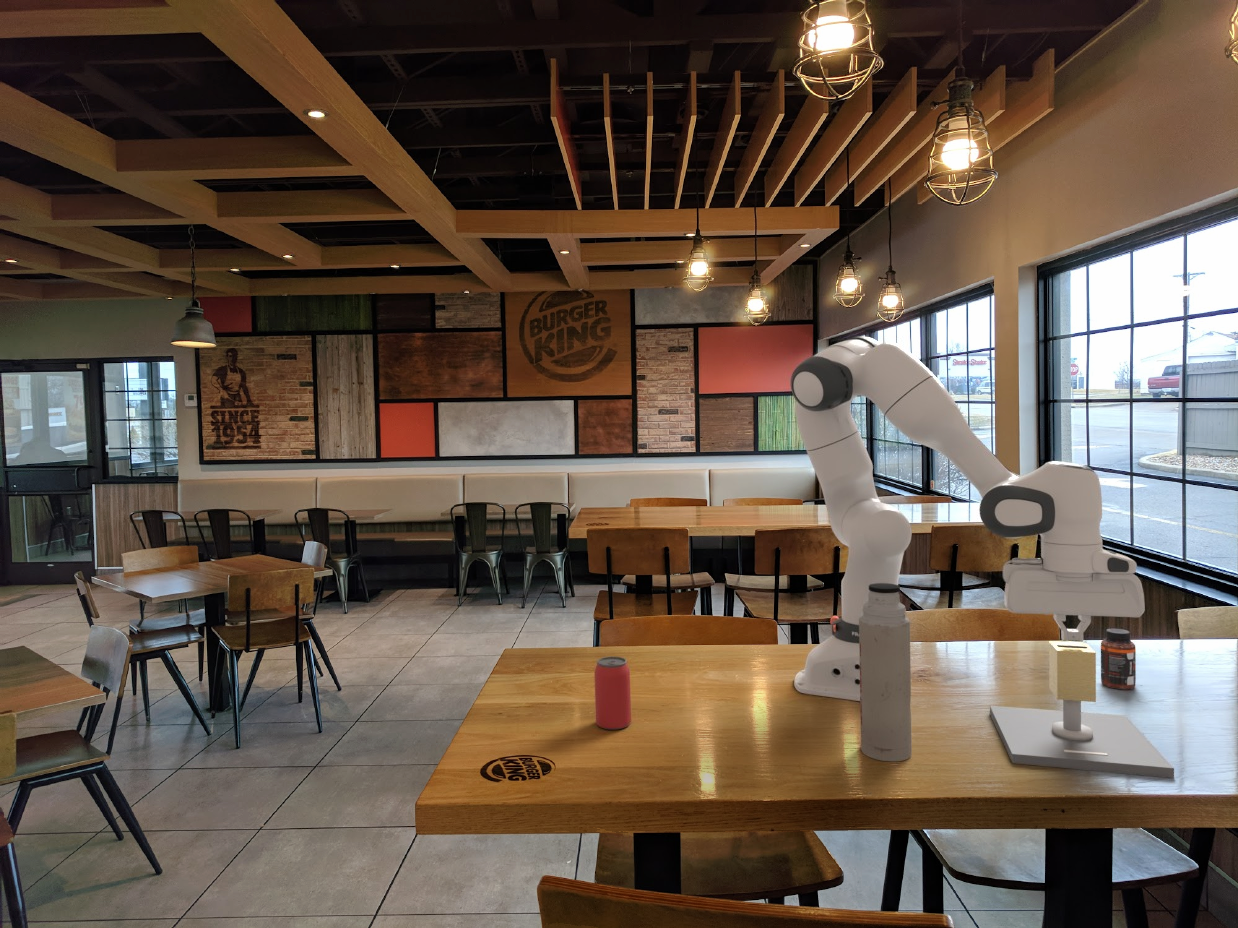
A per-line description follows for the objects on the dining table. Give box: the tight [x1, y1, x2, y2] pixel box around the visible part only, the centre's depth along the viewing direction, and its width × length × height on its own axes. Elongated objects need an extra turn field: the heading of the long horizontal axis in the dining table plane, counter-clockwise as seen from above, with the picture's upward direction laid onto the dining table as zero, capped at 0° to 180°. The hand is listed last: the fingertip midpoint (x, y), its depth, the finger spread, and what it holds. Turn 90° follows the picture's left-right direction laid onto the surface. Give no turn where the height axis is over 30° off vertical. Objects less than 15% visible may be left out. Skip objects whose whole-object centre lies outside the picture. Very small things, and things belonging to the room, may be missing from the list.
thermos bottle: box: [859, 583, 913, 763], centre depth 127 cm, size 8×8×28 cm
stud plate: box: [989, 700, 1175, 779], centre depth 129 cm, size 22×22×10 cm
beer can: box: [594, 656, 632, 731], centre depth 143 cm, size 7×7×12 cm
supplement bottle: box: [1100, 628, 1137, 690], centre depth 156 cm, size 6×6×11 cm
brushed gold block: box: [1048, 640, 1097, 703], centre depth 129 cm, size 6×6×8 cm
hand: (1072, 640), depth 129 cm, fingers closed
